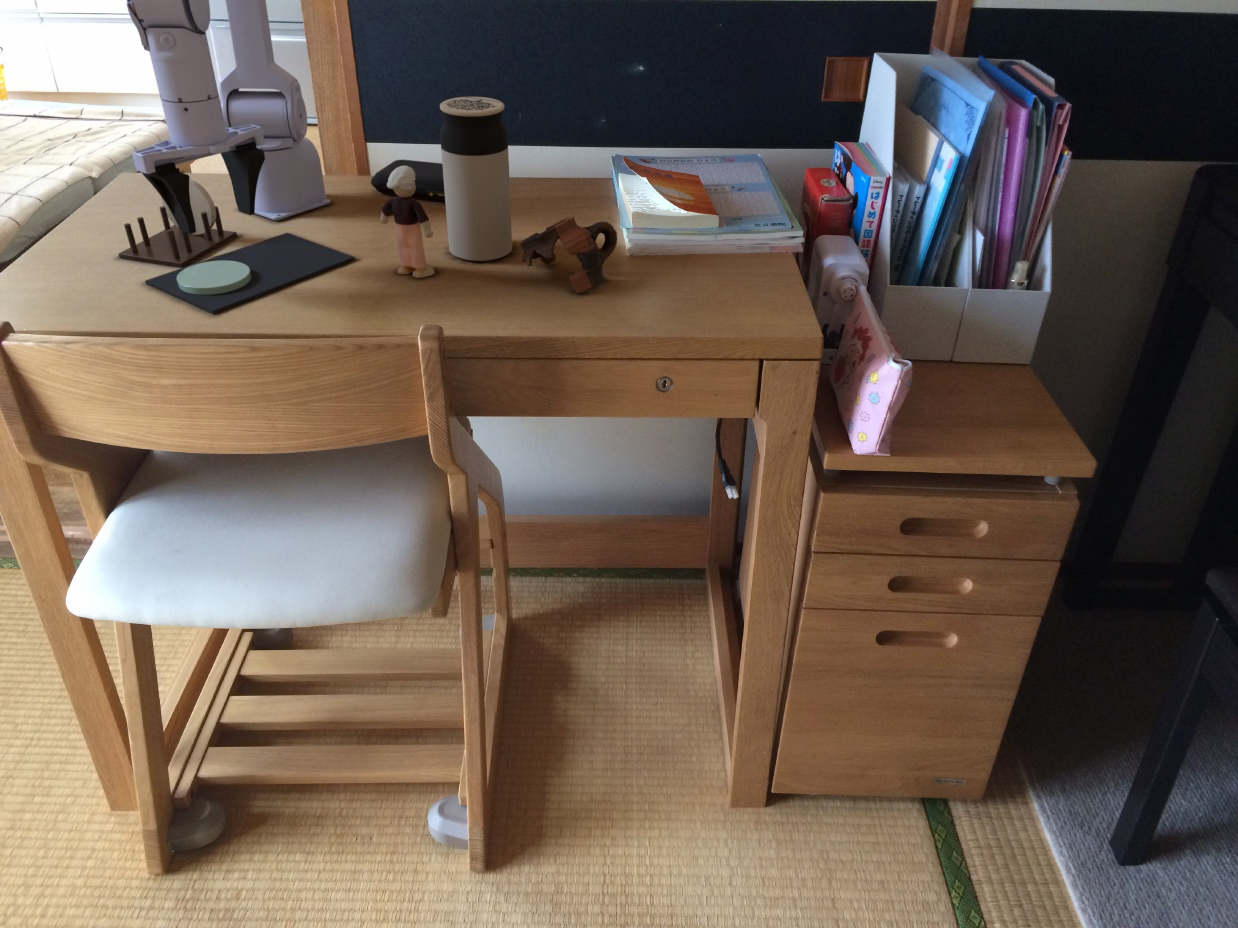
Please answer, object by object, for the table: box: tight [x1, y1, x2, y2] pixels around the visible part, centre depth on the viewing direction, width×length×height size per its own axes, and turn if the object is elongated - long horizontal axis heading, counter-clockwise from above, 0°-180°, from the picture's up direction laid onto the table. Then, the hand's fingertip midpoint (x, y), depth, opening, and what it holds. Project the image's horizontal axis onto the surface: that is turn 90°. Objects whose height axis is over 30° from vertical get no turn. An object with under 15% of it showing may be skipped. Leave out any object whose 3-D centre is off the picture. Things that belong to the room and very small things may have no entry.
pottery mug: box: [519, 216, 618, 295], centre depth 112 cm, size 12×10×8 cm
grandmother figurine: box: [379, 166, 435, 279], centre depth 109 cm, size 8×4×13 cm, turn 71°
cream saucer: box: [160, 177, 216, 235], centre depth 117 cm, size 1×7×7 cm, turn 75°
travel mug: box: [439, 96, 513, 262], centre depth 113 cm, size 8×8×18 cm
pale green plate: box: [177, 260, 251, 295], centre depth 108 cm, size 1×8×8 cm
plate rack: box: [118, 205, 238, 268], centre depth 116 cm, size 11×9×4 cm
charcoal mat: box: [144, 232, 356, 315], centre depth 111 cm, size 20×13×1 cm, turn 144°
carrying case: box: [370, 159, 445, 201], centre depth 136 cm, size 11×3×15 cm
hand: (218, 221), depth 105 cm, fingers open, 7 cm apart
